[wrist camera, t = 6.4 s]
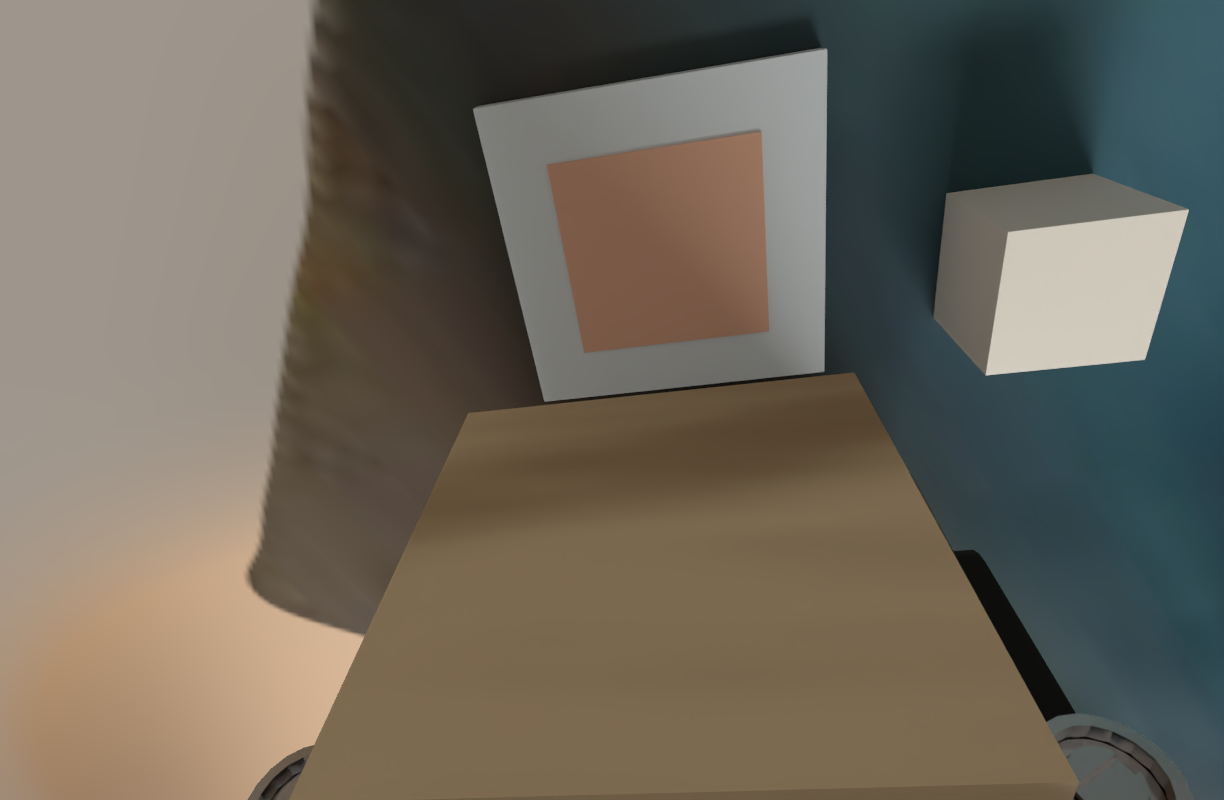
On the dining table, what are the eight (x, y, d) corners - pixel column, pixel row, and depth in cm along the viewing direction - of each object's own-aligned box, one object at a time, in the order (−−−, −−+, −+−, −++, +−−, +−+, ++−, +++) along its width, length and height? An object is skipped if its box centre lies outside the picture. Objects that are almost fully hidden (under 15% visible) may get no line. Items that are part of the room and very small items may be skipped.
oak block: (467, 413, 10) (287, 803, 5) (854, 372, 10) (1078, 782, 5) (545, 656, 13) (476, 1056, 8) (844, 640, 13) (972, 1069, 8)
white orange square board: (478, 106, 23) (471, 109, 23) (821, 47, 22) (828, 49, 21) (547, 392, 29) (543, 402, 29) (820, 362, 28) (824, 373, 27)
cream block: (945, 192, 24) (1007, 231, 20) (1091, 173, 23) (1188, 209, 19) (932, 316, 27) (985, 375, 22) (1064, 301, 26) (1145, 359, 22)
